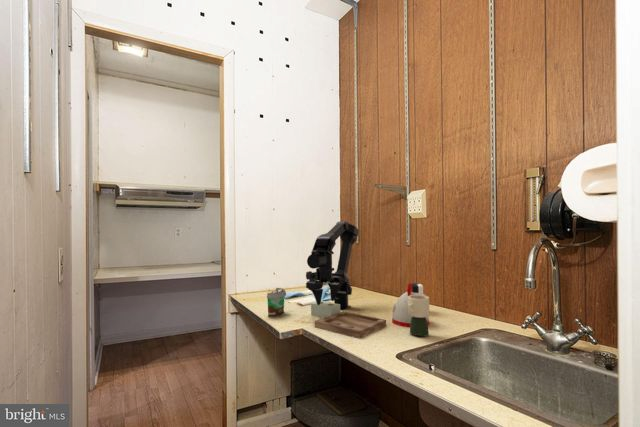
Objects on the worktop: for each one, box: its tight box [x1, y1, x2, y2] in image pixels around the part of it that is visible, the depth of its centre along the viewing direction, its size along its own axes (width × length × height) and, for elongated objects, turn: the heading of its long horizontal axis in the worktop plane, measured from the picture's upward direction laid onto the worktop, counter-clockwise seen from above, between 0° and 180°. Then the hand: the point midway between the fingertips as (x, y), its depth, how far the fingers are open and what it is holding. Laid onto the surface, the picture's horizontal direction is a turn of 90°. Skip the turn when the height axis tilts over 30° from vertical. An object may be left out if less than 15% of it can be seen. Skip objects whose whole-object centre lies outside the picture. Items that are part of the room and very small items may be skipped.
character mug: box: [408, 295, 430, 337], centre depth 117 cm, size 11×7×13 cm, turn 127°
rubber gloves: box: [285, 285, 331, 307], centre depth 180 cm, size 27×33×6 cm
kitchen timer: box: [391, 282, 430, 329], centre depth 132 cm, size 14×14×15 cm
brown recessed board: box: [314, 310, 387, 339], centre depth 128 cm, size 18×20×2 cm
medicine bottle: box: [411, 283, 426, 296], centre depth 148 cm, size 7×7×12 cm
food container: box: [266, 287, 287, 318], centre depth 146 cm, size 12×6×10 cm, turn 168°
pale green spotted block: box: [310, 301, 341, 318], centre depth 143 cm, size 6×11×5 cm, turn 49°
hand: (325, 302), depth 143 cm, fingers open, 9 cm apart
